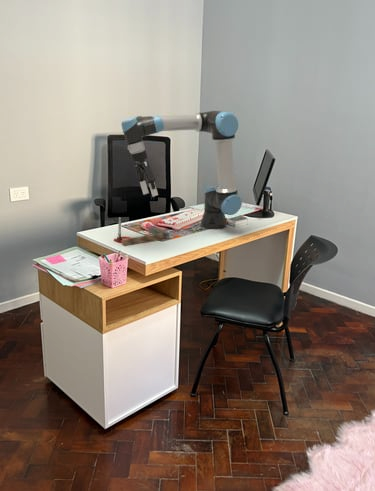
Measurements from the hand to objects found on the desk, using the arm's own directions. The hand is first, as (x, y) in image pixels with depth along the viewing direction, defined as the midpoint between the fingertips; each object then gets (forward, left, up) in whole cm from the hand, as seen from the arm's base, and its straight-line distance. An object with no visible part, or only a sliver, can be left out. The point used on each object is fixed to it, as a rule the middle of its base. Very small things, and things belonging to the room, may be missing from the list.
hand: (150, 194), depth 214 cm
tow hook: (+10, -10, -25) cm, 29 cm away
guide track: (+2, -10, -25) cm, 27 cm away
